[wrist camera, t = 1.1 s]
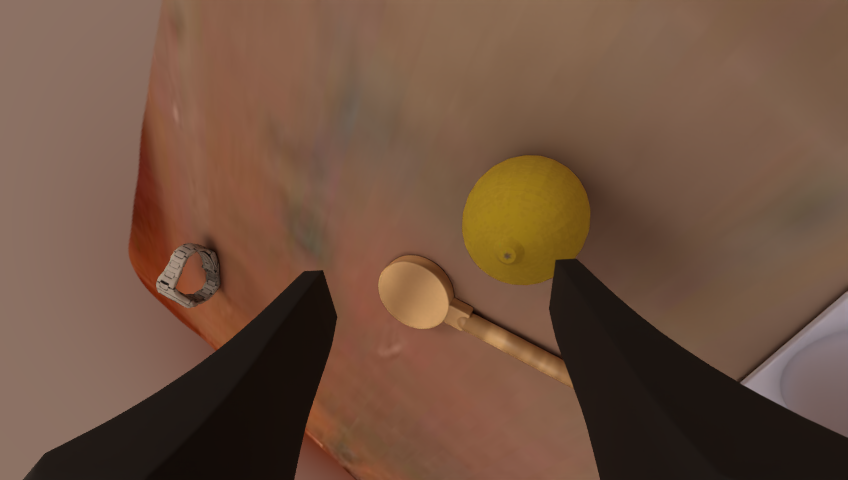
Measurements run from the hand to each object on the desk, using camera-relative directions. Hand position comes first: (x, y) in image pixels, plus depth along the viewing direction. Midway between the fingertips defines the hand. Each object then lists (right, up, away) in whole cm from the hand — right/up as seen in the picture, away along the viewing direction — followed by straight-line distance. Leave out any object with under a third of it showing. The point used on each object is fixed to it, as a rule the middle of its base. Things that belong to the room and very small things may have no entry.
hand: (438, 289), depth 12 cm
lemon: (+6, +4, +9) cm, 12 cm away
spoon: (+5, -5, +14) cm, 15 cm away
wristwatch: (-20, -1, +24) cm, 31 cm away
